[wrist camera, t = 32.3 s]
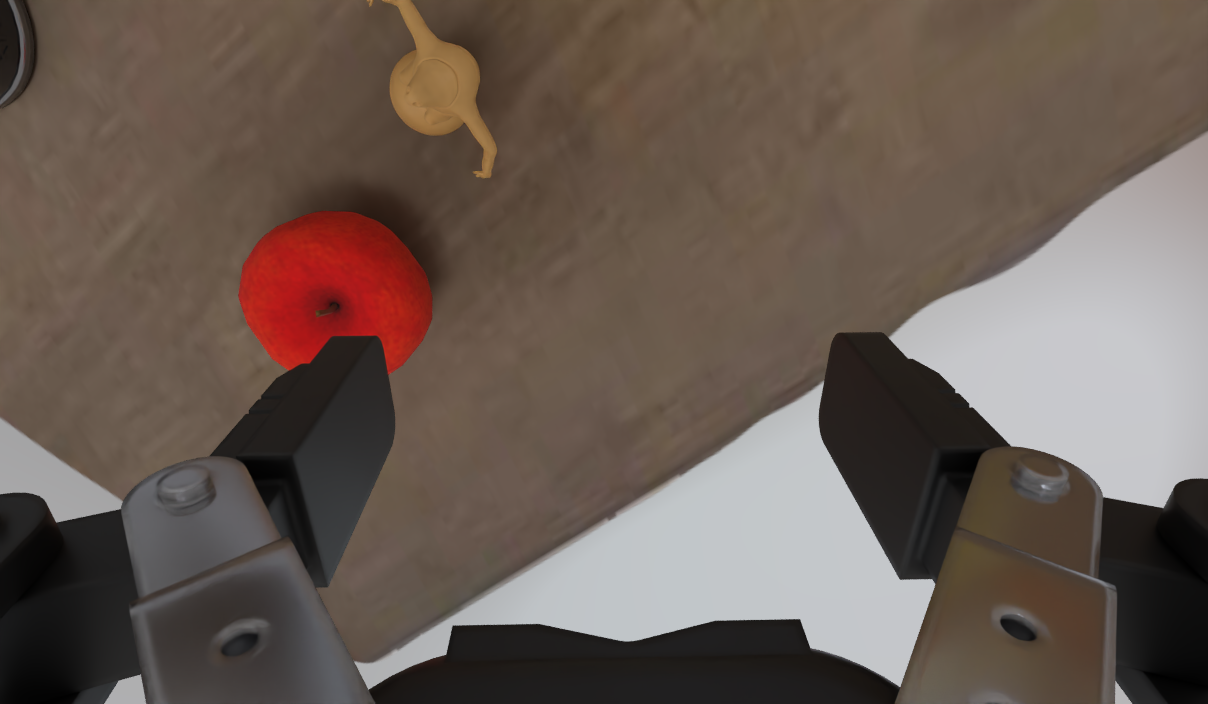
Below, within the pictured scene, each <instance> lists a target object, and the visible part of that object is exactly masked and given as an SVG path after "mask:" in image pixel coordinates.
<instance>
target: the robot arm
mask: <svg viewBox="0 0 1208 704" xmlns="http://www.w3.org/2000/svg"><path fill="white" fill-rule="evenodd" d="M33 63H34V39H33V32H32V27H31V23H30V20H29V16H28V13H27V10H26V8H25V5H24V3H23V0H0V108H3V107H5V106H6V105H8V104H9V103H11V102H12V101H13V100H14V99H16V98H17V97H18V96H19V94H20V93H21V92H22V91H23V89H24V88H25V86H26V84H27V82H28V80H29V78H30V75H31V72H32V68H33ZM819 428H820V433H821V437H822V440H823V443H824V445H825V446H826V448H827V450H828V452H829V453H830V455H831V457H832V459H833V461H834V462H835V464H836V466H837V468H838V470H839V471H840V473H841V475H842V477H843V478H844V480H845V482H846V484H847V486H848V488H849V489H850V491H851V493H852V495H853V496H854V498H855V500H856V502H857V503H858V505H859V507H860V509H861V511H862V513H863V514H864V516H865V518H866V520H867V522H868V523H869V525H870V527H871V529H872V530H873V532H874V534H875V536H876V538H877V539H878V541H879V543H880V545H881V546H882V548H883V550H884V552H885V554H886V556H887V557H888V559H889V561H890V563H891V564H892V566H893V568H894V570H895V572H896V573H897V575H898V577H899V579H900V580H902V579H903V580H904V579H933V581H934V582H935V584H936V585H935V588H934V591H933V594H932V597H931V600H930V602H929V606H928V608H927V611H926V614H925V617H924V620H923V623H922V626H921V629H920V632H919V634H918V637H917V640H916V643H915V646H914V649H913V652H912V655H911V658H910V661H909V664H908V667H907V670H906V672H905V675H904V678H903V681H902V684H901V687H899V686H897V685H896V684H894V683H893V682H891V681H889V680H888V679H886V678H885V677H883V676H881V675H879V674H877V673H875V672H874V671H871V670H870V669H868V668H866V667H864V666H862V665H860V664H857V663H855V662H852V661H850V660H848V659H845V658H843V657H839V656H837V655H833V654H830V653H827V652H824V651H820V650H816V649H811V648H810V646H809V643H808V641H807V638H806V635H805V632H804V629H803V627H802V624H801V621H800V619H789V620H787V619H786V620H738V621H737V620H736V621H735V620H733V621H713V622H709V623H705V624H701V625H697V626H693V627H689V628H685V629H681V630H677V631H674V632H669V633H665V634H661V635H657V636H653V637H650V638H646V639H642V640H637V641H630V642H624V641H618V640H613V639H608V638H604V637H598V636H594V635H589V634H584V633H579V632H574V631H570V630H565V629H560V628H555V627H551V626H545V625H541V624H518V625H517V624H516V625H466V626H465V625H462V626H453V627H452V631H451V636H450V640H449V645H448V650H447V654H446V655H444V656H440V657H436V658H433V659H430V660H428V661H425V662H422V663H419V664H417V665H414V666H412V667H409V668H407V669H405V670H403V671H401V672H399V673H397V674H395V675H392V676H391V677H389V678H387V679H386V680H384V681H382V682H381V683H379V684H377V685H376V686H374V687H372V688H371V689H369V690H368V688H367V686H366V684H365V682H364V680H363V679H362V676H361V675H360V673H359V671H358V669H357V667H356V665H355V663H354V661H353V659H352V657H351V655H350V653H349V651H348V649H347V647H346V645H345V643H344V641H343V640H342V638H341V636H340V634H339V632H338V630H337V628H336V626H335V624H334V622H333V620H332V618H331V616H330V614H329V612H328V610H327V609H326V607H325V605H324V603H323V601H322V599H321V597H320V595H319V593H318V591H317V589H316V588H317V587H328V586H329V584H330V581H331V579H332V577H333V575H334V573H335V570H336V568H337V566H338V564H339V562H340V559H341V557H342V555H343V553H344V551H345V548H346V546H347V544H348V542H349V540H350V537H351V535H352V533H353V531H354V529H355V526H356V524H357V522H358V520H359V518H360V515H361V513H362V511H363V509H364V507H365V504H366V502H367V500H368V498H369V496H370V493H371V491H372V489H373V487H374V485H375V482H376V480H377V478H378V476H379V473H380V471H381V469H382V467H383V465H384V462H385V460H386V458H387V456H388V454H389V451H390V449H391V447H392V444H393V440H394V434H395V412H394V406H393V400H392V394H391V388H390V383H389V377H388V371H387V365H386V359H385V354H384V348H383V345H382V342H381V340H380V338H379V337H378V336H332V337H331V338H330V339H329V340H328V341H327V342H326V344H325V345H324V346H323V347H322V349H321V350H320V351H319V352H318V354H317V355H316V356H315V357H314V359H313V360H312V361H311V362H310V363H301V364H300V365H298V366H296V367H295V368H293V369H291V370H290V371H288V372H286V373H285V374H283V375H281V376H280V377H278V378H276V379H275V381H274V382H273V383H272V384H271V385H270V386H269V387H268V389H267V390H266V391H265V392H264V393H263V394H262V396H261V399H258V400H257V401H256V403H255V404H254V405H253V406H252V407H251V408H250V410H249V414H245V415H244V417H243V418H242V419H241V420H240V421H239V422H238V424H237V425H236V426H235V427H234V428H233V429H232V431H231V432H230V433H229V434H228V435H227V436H226V438H225V439H224V440H223V441H222V442H221V443H220V444H219V446H218V447H217V448H216V449H215V450H214V451H213V453H212V454H211V455H210V456H209V457H201V458H195V459H191V460H186V461H183V462H180V463H176V464H174V465H171V466H168V467H166V468H164V469H162V470H160V471H157V472H156V473H154V474H152V475H150V476H148V477H147V478H145V479H144V480H143V481H141V482H140V483H139V484H137V485H136V486H135V487H134V488H133V489H132V490H131V491H130V492H129V493H128V494H127V496H126V497H125V499H124V500H123V503H122V506H121V509H119V510H116V511H110V512H106V513H101V514H96V515H91V516H86V517H81V518H77V519H72V520H67V521H63V522H58V523H56V522H55V520H54V518H53V516H52V514H51V512H50V510H49V508H48V506H47V504H46V502H45V501H44V499H43V498H41V497H40V496H37V495H34V494H29V493H7V494H0V704H104V703H105V701H106V700H107V698H108V697H109V695H110V694H111V692H112V690H113V689H114V687H115V686H116V684H117V682H118V681H119V680H122V679H125V678H129V677H133V676H136V675H140V674H141V677H142V683H143V687H144V693H145V699H146V704H1115V680H1116V682H1117V683H1118V684H1119V686H1120V687H1121V689H1122V690H1123V691H1124V692H1125V694H1126V695H1127V697H1128V698H1129V700H1130V701H1131V702H1132V704H1208V479H1188V480H1184V481H1181V482H1179V483H1178V484H1177V485H1175V487H1174V489H1173V491H1172V493H1171V495H1170V497H1169V499H1168V501H1167V503H1166V505H1165V507H1164V508H1159V507H1154V506H1148V505H1143V504H1137V503H1131V502H1126V501H1121V500H1115V499H1110V498H1105V497H1103V495H1102V492H1101V489H1100V487H1099V486H1098V485H1097V483H1096V482H1095V481H1094V480H1093V479H1092V478H1091V477H1090V476H1089V475H1088V474H1086V473H1085V472H1084V471H1082V470H1081V469H1079V468H1078V467H1076V466H1074V465H1073V464H1071V463H1069V462H1067V461H1065V460H1063V459H1061V458H1058V457H1056V456H1054V455H1050V454H1048V453H1045V452H1041V451H1037V450H1034V449H1028V448H1023V447H1011V446H1010V445H1009V444H1008V443H1007V442H1006V441H1005V440H1004V438H1003V437H1002V436H1001V435H1000V434H999V433H998V432H997V431H995V429H994V428H993V427H992V426H991V425H990V424H989V423H988V422H987V421H986V420H985V419H984V418H983V417H982V416H981V415H980V414H979V413H978V412H977V411H976V410H975V409H974V408H969V403H968V402H967V401H966V400H965V399H964V398H963V397H962V396H961V395H960V394H958V393H955V389H954V388H953V387H952V386H951V385H950V384H949V383H948V382H947V381H946V380H945V379H944V378H943V377H942V376H941V375H940V374H939V373H937V372H936V371H934V370H932V369H930V368H928V367H927V366H925V365H923V364H921V363H919V362H917V361H915V360H914V359H908V358H907V357H906V356H905V355H904V354H903V353H902V352H901V351H900V350H899V349H898V348H897V347H896V346H895V345H894V344H893V342H892V341H891V340H890V339H889V338H888V337H887V336H886V335H885V334H884V333H881V332H856V333H837V334H836V335H835V337H834V338H833V341H832V344H831V348H830V353H829V358H828V364H827V369H826V375H825V380H824V386H823V391H822V397H821V402H820V408H819Z"/></svg>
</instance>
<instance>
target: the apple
mask: <svg viewBox="0 0 1208 704" xmlns="http://www.w3.org/2000/svg"><path fill="white" fill-rule="evenodd" d="M238 296H239V300H240V304H241V306H242V309H243V312H244V315H245V318H246V321H247V324H248V325H249V327H250V328H251V330H252V331H253V332H254V334H255V335H256V337H257V338H258V339H259V341H260V342H261V344H262V345H263V347H264V348H265V349H266V351H267V352H268V354H269V355H270V356H271V358H272V359H273V360H275V361H276V362H278V363H279V364H280V365H282V366H283V367H285V368H286V369H288V370H289V371H290V370H291V369H293V368H295V367H296V366H298V365H300V364H301V363H310V362H311V361H312V360H313V359H314V357H315V356H316V355H317V354H318V352H319V351H320V350H321V349H322V347H323V346H324V345H325V344H326V342H327V341H328V340H329V339H330V338H331V337H332V336H378V337H379V338H380V340H381V342H382V345H383V348H384V354H385V359H386V365H387V371H388V375H389V374H390V373H392V372H393V371H395V370H396V369H398V368H399V367H401V366H402V365H403V364H404V363H405V362H406V361H407V359H408V358H409V357H410V356H411V354H412V353H413V352H414V351H415V349H416V348H417V347H418V346H419V344H420V343H421V342H422V340H423V338H424V336H425V334H426V332H427V330H428V327H429V325H430V323H431V320H432V294H431V290H430V287H429V283H428V280H427V276H426V274H425V272H424V270H423V269H422V267H421V266H420V265H419V263H418V262H417V260H416V259H415V258H414V256H413V255H412V253H411V252H410V251H409V249H408V248H407V247H406V246H405V245H404V244H403V242H402V241H401V240H400V239H399V238H398V237H397V236H396V235H395V234H394V233H393V232H392V231H391V230H390V229H388V228H387V227H386V226H384V225H383V224H381V223H380V222H378V221H376V220H374V219H371V218H368V217H366V216H363V215H360V214H358V213H355V212H341V211H320V212H315V213H311V214H307V215H304V216H302V217H299V218H297V219H294V220H292V221H289V222H287V223H284V224H282V225H279V226H277V227H275V228H274V229H273V230H271V231H270V232H269V233H267V234H266V235H264V236H263V237H262V238H261V240H260V241H259V242H258V243H257V244H256V246H255V247H254V249H253V250H252V252H251V254H250V255H249V257H248V258H247V260H246V261H245V263H244V265H243V268H242V275H241V282H240V288H239V295H238Z"/></svg>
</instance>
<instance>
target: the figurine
mask: <svg viewBox="0 0 1208 704" xmlns="http://www.w3.org/2000/svg"><path fill="white" fill-rule="evenodd" d="M369 1H370V2H369ZM373 1H374V0H367V2H369V6H371V5H372V3H373ZM381 1H383V2H386V3H392V4H393V5H395V6H398V8H399V10H400V12H401V15H402V17H403V19H404V21H405V23H406V25H407V27H408V29H409V30H410V32H411V34H412V35H413V38H414V41H415V44H416V49H417V50H414V51H412V52H410V53H408V54H406V55H405V56H404V57H402V58H401V59H400V60H399V62H398V63H397V64H396V66H395V68H394V70H393V72H392V75H391V78H390V97H391V101H392V104H393V107H394V109H395V111H396V112H397V114H398V115H399V117H400V118H401V119H402V120H403V121H404V122H405V123H406V124H407V125H408V126H409V127H411V128H412V129H414V130H416V131H418V132H420V133H423V134H426V135H433V136H439V135H445V134H448V133H451V132H453V131H455V130H456V129H458V128H459V127H460V126H461V125H462V124H463V123H464V122H465V124H466V125H467V126H468V128H469V129H470V131H471V132H472V134H473V135H474V137H475V138H476V139H477V141H478V142H479V143H480V144H481V146H482V147H483V148H484V152H483V154H484V156H483V159H482V170H483V171H474V172H473V173H474V174H478V175H476V177H482V178H489V177H491V175H492V174H491V170H492V168H493V164H494V158H495V156H496V154H497V147H496V144H495V142H494V140H493V138H492V136H491V134H490V132H489V130H488V128H487V127H486V125H485V123H484V121H483V120H482V118H481V117H480V114H479V112H478V108H477V105H476V94H477V91H478V88H479V87H478V85H479V83H480V71H479V67H478V64H477V62H476V60H475V58H474V57H473V56H472V55H471V54H470V53H469V52H468V51H467V50H466V49H464V48H463V47H461V46H459V45H454V44H452V43H447V42H443V41H441V40H439V39H438V38H437V37H436V36H435V35H434V34H433V33H432V32H431V31H430V30H429V29H428V27H427V26H426V24H425V22H424V20H423V19H422V17H421V15H420V14H419V12H418V11H417V9H416V7H415V6H414V4H413V3H412V2H411V0H381Z"/></svg>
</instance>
